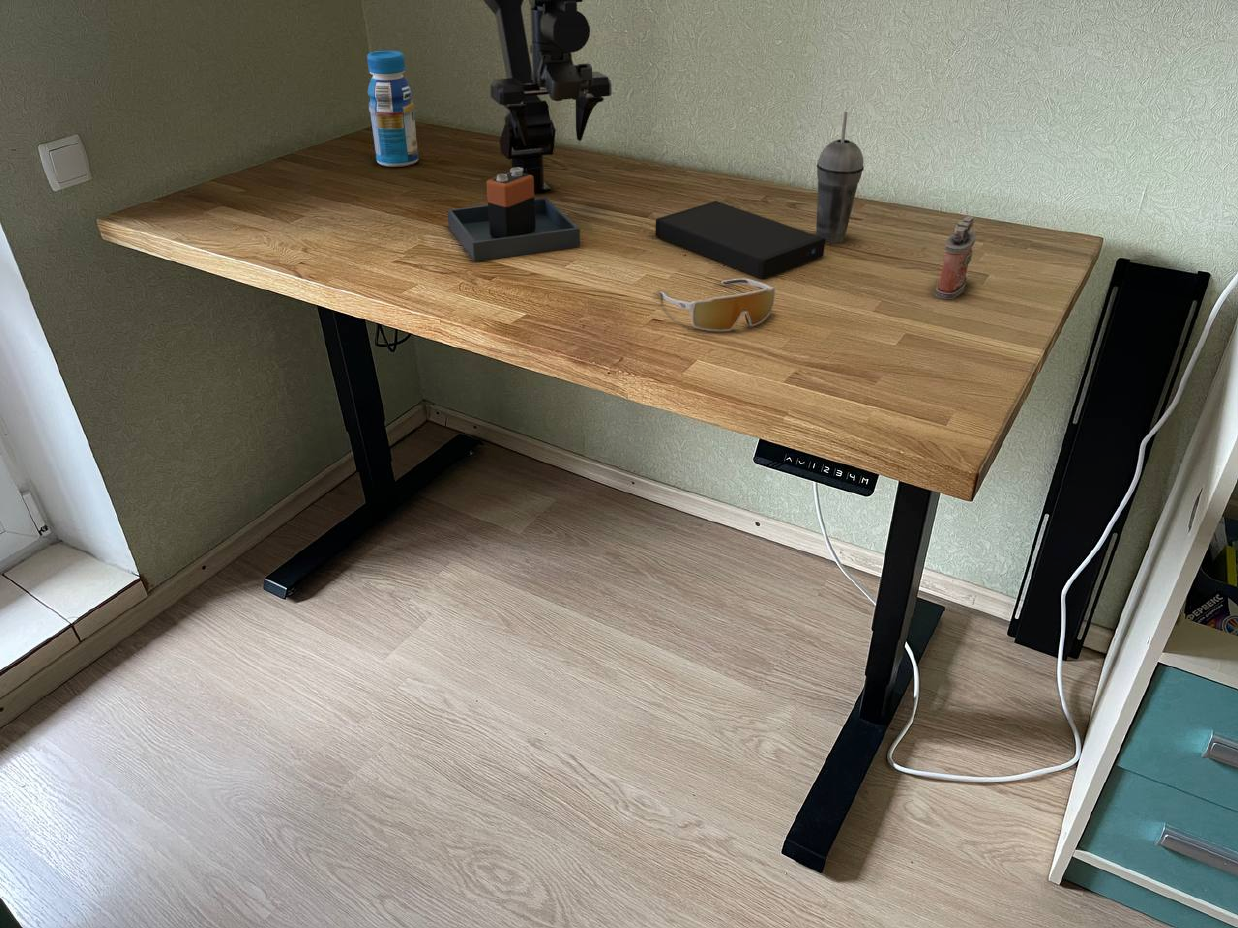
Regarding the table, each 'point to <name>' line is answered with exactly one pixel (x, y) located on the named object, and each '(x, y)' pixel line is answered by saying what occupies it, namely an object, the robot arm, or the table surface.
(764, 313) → the sunglasses
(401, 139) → the beverage bottle
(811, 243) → the external hard drive
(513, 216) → the battery
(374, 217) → the table surface
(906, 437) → the table surface
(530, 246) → the tray
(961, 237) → the lighter
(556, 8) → the robot arm
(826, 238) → the beverage cup
